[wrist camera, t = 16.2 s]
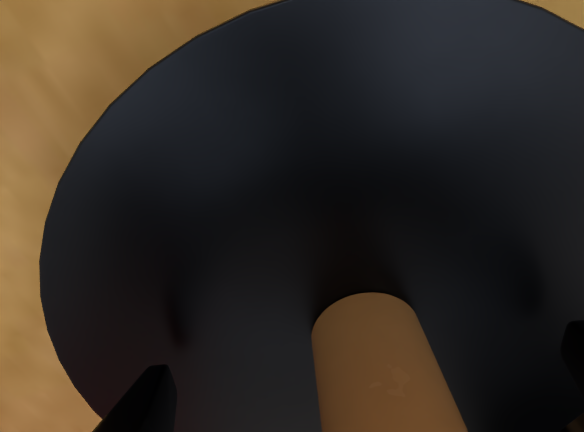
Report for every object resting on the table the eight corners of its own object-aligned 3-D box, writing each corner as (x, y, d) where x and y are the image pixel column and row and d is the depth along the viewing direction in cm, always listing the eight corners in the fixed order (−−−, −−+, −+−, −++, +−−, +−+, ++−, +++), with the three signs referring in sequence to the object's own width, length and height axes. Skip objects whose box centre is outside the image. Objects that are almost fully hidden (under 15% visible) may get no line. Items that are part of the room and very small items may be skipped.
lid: (797, 124, 9) (1308, 253, 5) (462, 493, 16) (538, 695, 11) (95, -167, 6) (-337, -546, 2) (45, 430, 13) (-76, 666, 8)
